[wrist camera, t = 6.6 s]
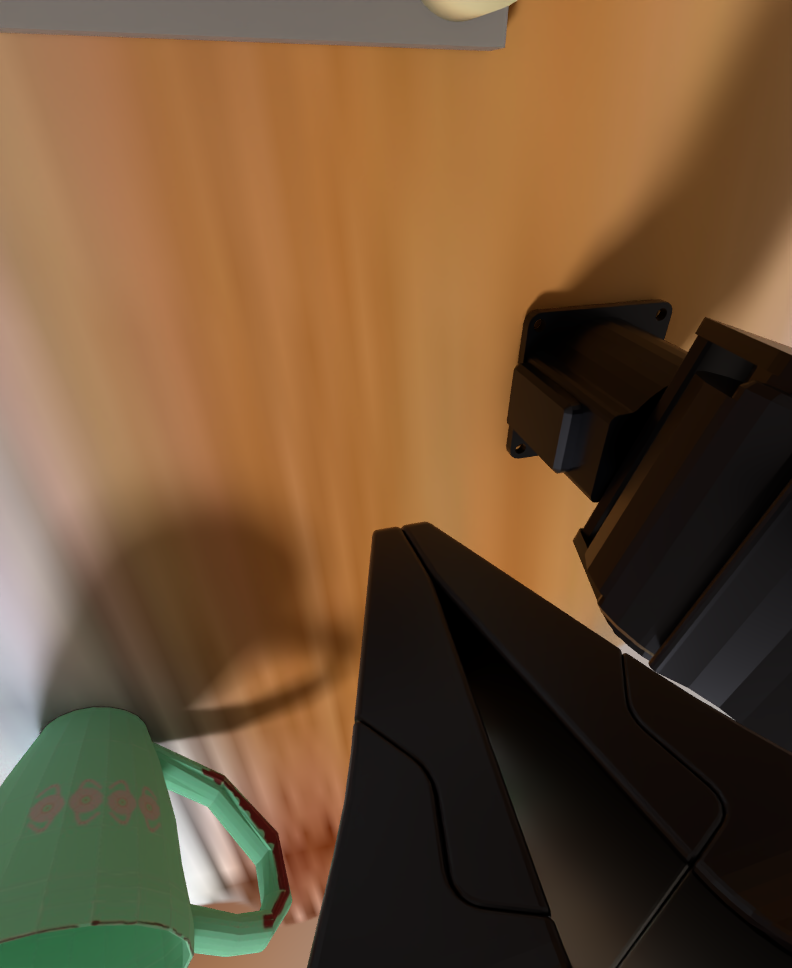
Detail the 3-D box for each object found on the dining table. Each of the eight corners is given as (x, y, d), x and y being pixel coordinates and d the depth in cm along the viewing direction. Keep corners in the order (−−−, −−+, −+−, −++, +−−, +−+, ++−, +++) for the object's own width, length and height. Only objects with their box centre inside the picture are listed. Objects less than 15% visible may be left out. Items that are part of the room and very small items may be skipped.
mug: (-45, 790, 27) (-151, 1076, 19) (6, 658, 23) (-99, 941, 15) (239, 797, 34) (249, 1005, 26) (310, 697, 30) (346, 902, 23)
